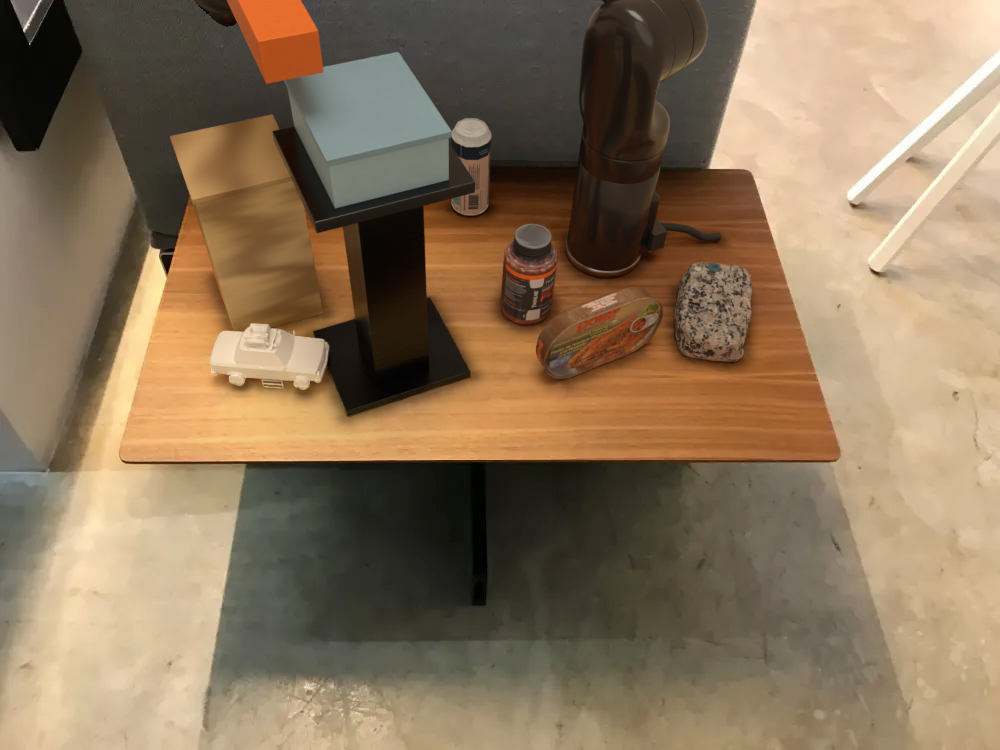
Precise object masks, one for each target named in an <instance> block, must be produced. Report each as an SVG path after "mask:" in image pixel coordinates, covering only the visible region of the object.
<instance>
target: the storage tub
mask: <svg viewBox="0 0 1000 750" xmlns="http://www.w3.org/2000/svg"><path fill="white" fill-rule="evenodd" d="M323 71H324V72H323V73H318V74H313V75H308V76H303V77H298V78H293V79H288V80H283V82H284V84H285V87H286V88H287V92H288V98H289V104H290V110H291V115H292V121H293V126H295V128H296V130H297V132H298V134H299V136H300V139H301V141H302V143H303V145H304V147H305V149H306V151H307V153H308V155H309V157H310V159H311V161H312V163H313V165H314V167H315V169H316V171H317V173H318V175H319V177H320V179H321V181H322V183H323V185H324V187H325V189H326V191H327V193H328V195H329V197H330V199H331V201H332V203H333V205H334V207H335V208H340V207H343V206H347V205H351V204H355V203H359V202H363V201H367V200H371V199H375V198H379V197H383V196H387V195H391V194H395V193H399V192H403V191H407V190H411V189H415V188H419V187H423V186H427V185H431V184H435V183H439V182H443V181H447V180H449V143H450V141H449V139H451V137H452V130H451V128H450V126H449V125H448V123H447V122H446V120H445V119H444V118H443V116H442V115H441V113H440V112H439V110H438V109H437V107H436V106H435V104H434V102H433V101H432V99H431V98H430V97H429V95H428V93H427V92H426V90H425V89H424V88H423V86H422V85H421V83H420V81H419V80H418V79H417V77H416V76H415V74H414V73H413V71H412V70H411V68H410V67H409V65H408V64H407V62H406V61H405V59H404V58H403V56H402V55H401V53H400V52H399V51H395V52H391V53H385V54H381V55H380V54H379V55H376V56H370V57H366V58H361V59H356V60H351V61H346V62H341V63H336V64H335V63H334V64H331V65H325V66H323Z"/></svg>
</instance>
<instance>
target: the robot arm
mask: <svg viewBox="0 0 1000 750" xmlns="http://www.w3.org/2000/svg"><path fill="white" fill-rule="evenodd" d="M194 1H195V2H196V4H198V6H199V7H200V8H201V9H203V11H205V12H206V14H209V16H211V18H212V19H213V20H215V21H216V22H217V23H219V24H221V25H223V26H226V27H228V26H233V25H235V24H236V23H237V21H236V19H235V17H234V15H233V13H232V10H231V8H230V6H229V4H228V2H227V0H194ZM601 1H602V2H603V3H602V4H601V5H599V6H598V7H597V8H596V9H595V10H594V11H593V13H592V14H591V16H590V18H589V21H588V23H587V26H586V29H585V32H584V37H583V43H582V52H581V65H580V67H581V68H580V78H579V92H578V104H579V105H578V107H579V112H580V115H581V119H582V129H581V130H582V131H581V137H580V142H579V143H580V144H579V152H578V159H577V164H576V172H575V178H574V179H575V180H574V186H573V187H574V188H573V194H572V201H571V210H570V216H569V222H568V229H567V234H566V239H565V245H564V250H565V256H566V257H567V259H568V261H569V262H570V263H571V264H572V265H573V266H574V267H575V268H576V269H578V270H579V271H581V272H583V273H585V274H587V275H589V276H593V277H598V278H617V277H621V276H623V275H626V274H628V273H630V272H632V271H633V270H634V269H635V268H636V267H637V266H638V265H639V263H640V261H641V260H643V259H646V258H647V256H648V252H650V253H651V252H655V251H659V250H661V249H664V247H665V245H666V244H665V243H666V240H667V236H668V232H677V233H681V234H682V233H683V234H687V235H689V236H691V237H693V238H695V239H697V240H699V241H702V242H705V243H706V242H709V243H711V242H719V241H721V238H722V235H721V232H713V233H706V232H702V231H700V230H698V229H697V228H695V227H693V226H690V225H687V224H682V223H675V222H661V221H660V220H659V218H657V215H658V210H659V206H660V202H661V197H660V195H659V193H658V192H657V191H656V190H657V185H658V180H659V176H660V172H661V167H662V162H663V158H664V154H665V149H666V146H667V143H668V138H669V133H670V127H671V120H670V115H669V113H668V111H667V109H665V107H664V106H663V104H661V103H660V102H659V101H657V100H656V99H657V95H658V89H659V86H660V84H661V83H662V82H664V81H666V80H667V79H669V78H671V77H672V76H674V75H675V74H677V73H678V72H680V71H681V70H683V69H685V68H686V67H687V66H689V65H690V64H692V63H693V62H694V61H695V60H696V59H697V58H698V57H699V56H700V55H701V54H702V52H703V51H704V49H705V47H706V44H707V40H708V29H709V25H708V21H707V17H706V13H705V11H704V8H703V6H702V4H701V2H700V0H601Z"/></svg>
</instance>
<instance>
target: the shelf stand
mask: <svg viewBox="0 0 1000 750" xmlns="http://www.w3.org/2000/svg"><path fill="white" fill-rule="evenodd" d="M279 129H280V128H279ZM272 133H273V138H274V142H275V145H276V147H277V149H278V151H279V153H280V155H281V158H282V160H283V162H284V164H285V166H286V168H287V171H288V173H289V175H290V177H291V179H292V181H293V184H294V186H295V188H296V190H297V192H298V194H299V196H300V199H301V201H302V203H303V205H304V208H305V213H306V215H307V216H308V218H309V220H310V222H311V224H312V227H313V229H314V231H315V233H316V234H322V233H324V232H328V231H332V230H336V229H340V228H342V231H343V239H344V246H345V247H344V248H345V255H346V262H347V268H348V276H349V284H350V291H351V292H350V293H351V298H352V299H351V300H352V306H353V307H352V308H353V313H354V314H353V315H354V318H353V319H350V320H347V321H343V322H339V323H336V324H333V325H329V326H326V327H322V328H319V329H316V330H313V331H312V334H313V338H319V339H324V340H325V342H327V343H328V344H329V355H328V361H327V366H326V369H327V372H328V374H329V377H330V379H331V381H332V384H333V387H334V389H335V391H336V394H337V395H338V398H339V400H340V403H341V406H342V408H343V410H344V413H345V415H346V417H347V418H348V417H352V416H354V415H357V414H361V413H364V412H366V411H370V410H373V409H377V408H379V407H382V406H385V405H388V404H392V403H395V402H397V401H400V400H404V399H407V398H410V397H413V396H416V395H419V394H423V393H425V392H429V391H431V390H434V389H437V388H441V387H443V386H447V385H450V384H453V383H456V382H459V381H463V380H467V379H468V378H471V370H470V367H469V366H468V364H467V362H466V360H465V359H464V357H463V355H462V353H461V352H460V351H461V350H460V349H459V348H458V346H457V344H456V342H455V340H454V338H453V336H452V335H451V332H450V331H449V329H448V327H447V326H446V323H445V322H444V319H443V318H442V316H441V314H440V313H439V310H438V309H437V307H436V305H435V303H434V301H433V300H432V297H431V296H428V295H427V268H426V266H427V265H426V264H427V263H426V240H425V239H426V238H425V236H426V235H425V210H424V207H425V206H428V205H429V206H430V205H433V204H437V203H440V202H444V201H448V200H451V199H452V198H456V197H460V196H464V195H468V194H472V193H475V181H474V180H473V178H472V177H471V175H470V174H469V172H468V171H467V169H466V168H465V166H464V164H463V163H462V161H461V160H460V158H459V157H458V155H457V154H456V152H455V151H454V149H453V148H452V146H451V144H450V143H451V142H449V180H447V181H443V182H439V183H435V184H431V185H427V186H423V187H419V188H415V189H411V190H407V191H403V192H399V193H395V194H391V195H387V196H383V197H379V198H375V199H371V200H367V201H363V202H359V203H355V204H351V205H347V206H343V207H340V208H335V207H334V205H333V203H332V201H331V199H330V197H329V195H328V193H327V191H326V189H325V187H324V185H323V183H322V181H321V179H320V177H319V175H318V173H317V171H316V169H315V167H314V165H313V163H312V161H311V159H310V157H309V155H308V153H307V151H306V149H305V147H304V145H303V143H302V141H301V139H300V136H299V134H298V132H297V130H296V128H295V126H294V125H293V126H289V127H284V128H281V129H280V130H275V131H272ZM427 296H428V297H427Z"/></svg>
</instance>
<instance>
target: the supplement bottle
mask: <svg viewBox="0 0 1000 750" xmlns="http://www.w3.org/2000/svg"><path fill="white" fill-rule="evenodd" d="M552 239H553V238H552V233H551V232H550V230H549V229H548V228H547V227H545V226H544V225H540V224H538V223H526V224H523V225H521V226H519V227H518V228H517V229H516V230H515V232H514V237H513V239H512V240H511V241H510V242H509V243H508V244H507V245H506V247H505V249H504V254H503V262H502V264H503V265H502V275H501V277H502V279H501V292H500V308H501V311H502V314H503V315H505V317H506V318H508V319H509V320H511V321H512V322H513V323H517V324H519V325H520V324H521V325H534V324H537V323H540V322H542V321H544V320H545V319H546V318H547V317H548V316H549V315H550V312H551V309H552V305H553V297H554V292H555V291H554V290H555V289H554V288H555V283H556V278H557V277H556V276H557V269H558V260H559V257H558V256H559V254H558V250H557V249H556V247H555V246H554V245H553V243H552Z"/></svg>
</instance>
